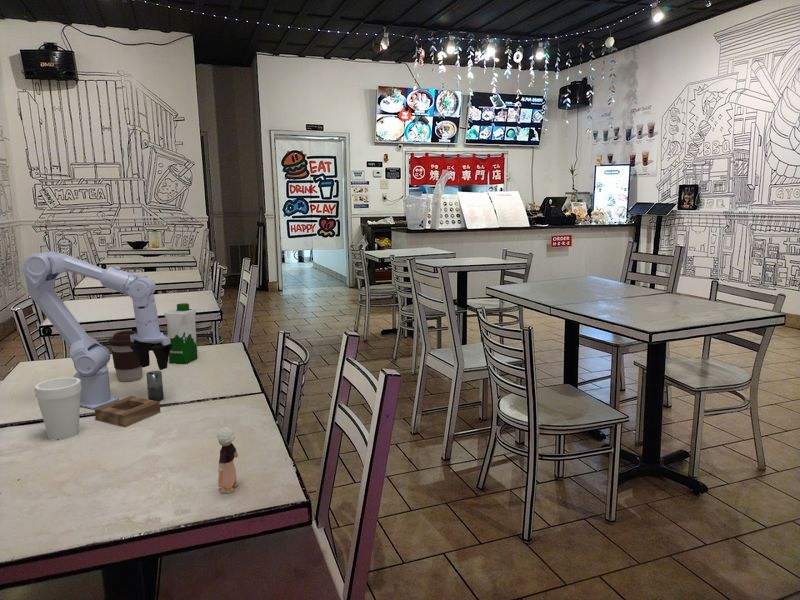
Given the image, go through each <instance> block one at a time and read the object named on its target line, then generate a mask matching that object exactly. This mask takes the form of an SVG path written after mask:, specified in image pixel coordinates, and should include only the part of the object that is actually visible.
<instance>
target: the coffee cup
mask: <svg viewBox="0 0 800 600" xmlns="http://www.w3.org/2000/svg"><path fill="white" fill-rule="evenodd" d="M133 334H138V333H137V330H123V331H117V332H115V333H114V334H113V336H111V337H110V338H108V344H109V346H111V357H112V361H113V368H114V369H115V373H116V380H117V381H118V382H121V383H128V382H129V383H131V382H135V381H138V380H141V379H142V378H143V367H142V366H141V364H140V362H139V360H138V358H137V356H136V354H135V353H134V351H133V350H132V349H131V348H130V346H129V345H131V344H133V343H134V342H131V339H130V335H133Z"/></svg>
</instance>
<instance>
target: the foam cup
mask: <svg viewBox="0 0 800 600" xmlns="http://www.w3.org/2000/svg"><path fill="white" fill-rule="evenodd" d="M73 377H74V376H73ZM73 377H72V376H71V377H57V378H51V379H47V380H43V381H40V382H39V383H37V384H36V385H34V394H35V397H36V399H37V403H38V406H39V410H40V413H41V417H42V420H43V423H44V427H45V431H46V434H47V436H48V437H49V438H50V440H51V439H54V440H53V441H57V440H56V439H62V440H66V439H65V438H68V439H70V438H72V436H73V437H75V436H77V435H78V434H79V429H80V411H81V406H80V393H81V389H82V388H81V380H80V379H78V378H73ZM76 434H77V435H76ZM69 437H70V438H69ZM49 438H48V439H49Z"/></svg>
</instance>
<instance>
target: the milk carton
mask: <svg viewBox="0 0 800 600" xmlns="http://www.w3.org/2000/svg"><path fill="white" fill-rule="evenodd" d="M196 313H197V310H196V309H193V308H190V304H189V303H186V302H184V303H183V302H182V303H177V304H176V308H175V309H172V310H168V311H167V312H164V313H163V314H164V319H165V321H166V328H167V329H166V330H167V337H170V342H171V343H172V345H173V346H172V348H171V350H170V353H169V357H168V364H173V363H176V364H177V365H178V364H179V365H188V363H189V364H190V362H191V363H192V362H194V361H196V360H197V358H199V357H198V345H197V344H198V343H197V329H196V328H197V327H196Z"/></svg>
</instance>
